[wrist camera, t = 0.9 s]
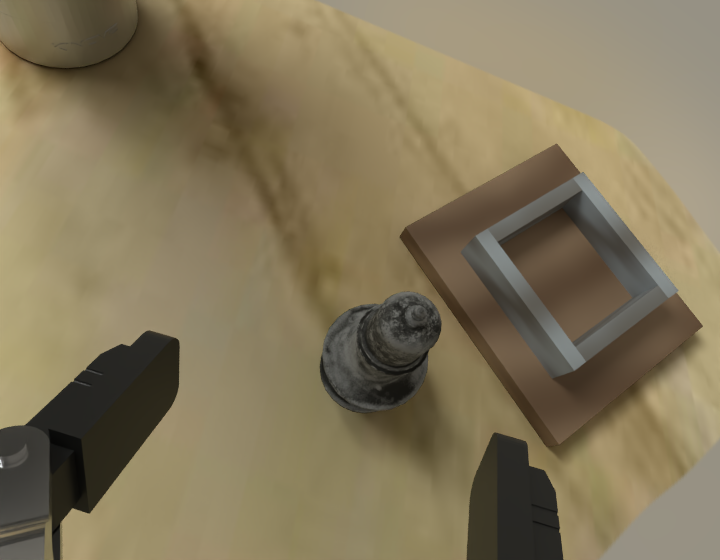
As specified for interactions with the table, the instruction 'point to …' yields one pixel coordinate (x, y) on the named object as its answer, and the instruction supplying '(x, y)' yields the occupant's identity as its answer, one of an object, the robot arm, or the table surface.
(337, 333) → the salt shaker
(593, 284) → the socket stand
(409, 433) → the table surface
